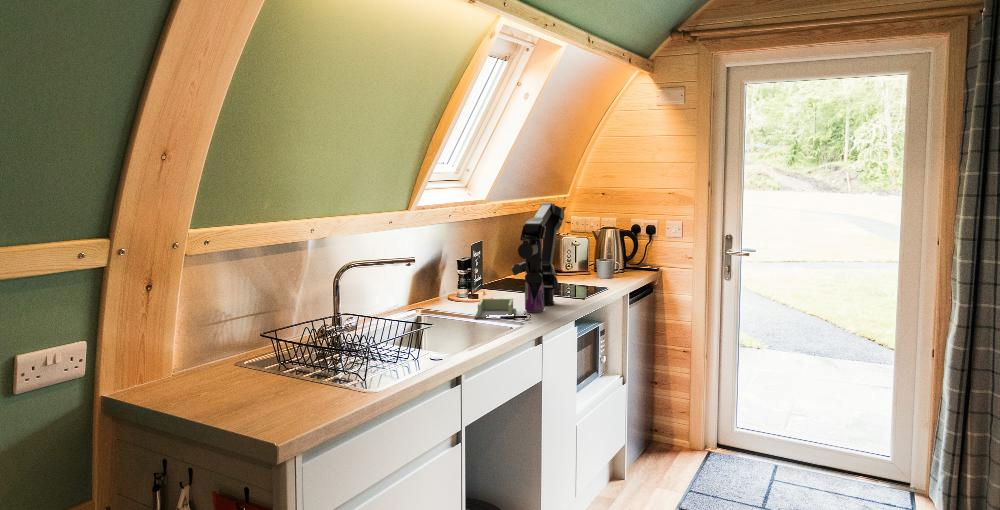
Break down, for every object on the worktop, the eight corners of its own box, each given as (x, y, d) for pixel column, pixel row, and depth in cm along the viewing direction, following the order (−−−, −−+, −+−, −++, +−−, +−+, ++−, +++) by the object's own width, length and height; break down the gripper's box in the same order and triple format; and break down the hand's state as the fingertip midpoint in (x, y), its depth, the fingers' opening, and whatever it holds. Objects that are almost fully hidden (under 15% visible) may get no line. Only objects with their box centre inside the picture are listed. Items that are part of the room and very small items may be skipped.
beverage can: (541, 313, 286) (540, 281, 285) (522, 312, 289) (522, 280, 287) (546, 310, 293) (546, 278, 291) (528, 309, 295) (528, 277, 294)
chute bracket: (479, 310, 294) (478, 297, 293) (516, 310, 293) (515, 297, 292) (474, 319, 279) (474, 305, 279) (513, 319, 278) (513, 306, 277)
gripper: (513, 252, 298) (514, 292, 300) (510, 258, 279) (511, 301, 282) (543, 251, 297) (543, 292, 299) (541, 258, 279) (542, 301, 281)
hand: (534, 296), depth 290 cm, fingers closed on beverage can, 7 cm apart
